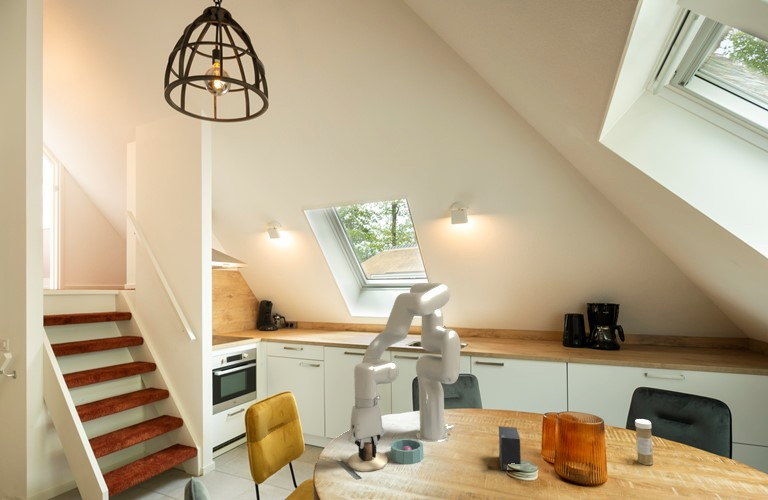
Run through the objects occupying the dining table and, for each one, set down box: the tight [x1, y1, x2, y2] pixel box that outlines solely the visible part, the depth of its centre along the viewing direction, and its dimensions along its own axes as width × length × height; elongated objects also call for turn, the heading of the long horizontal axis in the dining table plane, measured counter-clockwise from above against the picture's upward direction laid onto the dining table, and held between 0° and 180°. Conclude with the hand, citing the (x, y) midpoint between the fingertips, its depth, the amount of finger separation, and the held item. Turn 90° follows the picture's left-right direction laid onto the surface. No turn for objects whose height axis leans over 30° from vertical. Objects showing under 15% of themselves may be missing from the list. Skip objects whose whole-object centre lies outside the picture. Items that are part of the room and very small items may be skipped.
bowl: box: [390, 438, 424, 465], centre depth 143 cm, size 11×11×5 cm
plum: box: [402, 446, 412, 450], centre depth 143 cm, size 4×4×4 cm
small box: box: [498, 425, 522, 471], centre depth 139 cm, size 11×6×10 cm, turn 168°
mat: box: [336, 459, 362, 481], centre depth 139 cm, size 15×15×1 cm
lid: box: [347, 441, 388, 472], centre depth 139 cm, size 13×13×6 cm
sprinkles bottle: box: [634, 418, 654, 466], centre depth 138 cm, size 5×5×13 cm
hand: (367, 457), depth 139 cm, fingers closed on lid, 3 cm apart
